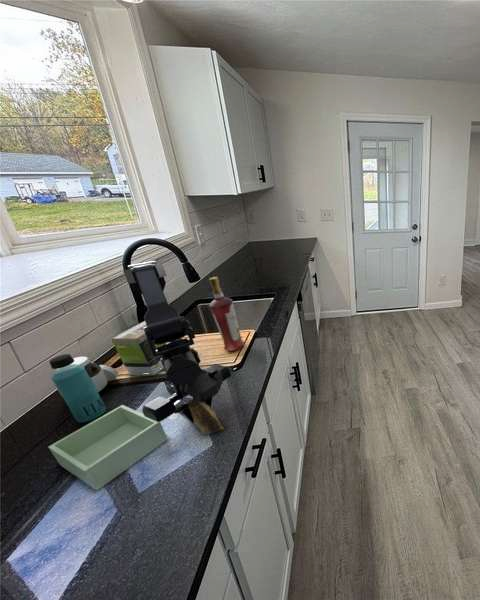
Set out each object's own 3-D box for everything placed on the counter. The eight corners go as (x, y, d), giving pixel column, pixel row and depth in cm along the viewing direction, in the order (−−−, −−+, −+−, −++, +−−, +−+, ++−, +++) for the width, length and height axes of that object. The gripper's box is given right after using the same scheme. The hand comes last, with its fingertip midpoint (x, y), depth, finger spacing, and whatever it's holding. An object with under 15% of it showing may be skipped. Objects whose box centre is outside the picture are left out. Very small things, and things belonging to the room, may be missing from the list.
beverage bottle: (90, 428, 83) (54, 365, 75) (71, 426, 85) (33, 363, 77) (115, 411, 89) (83, 351, 81) (97, 409, 90) (64, 349, 83)
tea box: (164, 351, 119) (150, 316, 113) (187, 352, 118) (174, 316, 112) (127, 375, 105) (109, 337, 100) (153, 376, 104) (136, 338, 98)
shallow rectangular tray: (131, 421, 85) (122, 404, 83) (168, 439, 78) (159, 421, 76) (60, 465, 73) (47, 446, 70) (96, 490, 66) (84, 471, 64)
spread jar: (62, 407, 92) (42, 375, 87) (78, 386, 101) (60, 356, 97) (114, 393, 97) (97, 361, 92) (123, 374, 106) (109, 345, 102)
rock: (175, 412, 82) (168, 430, 74) (195, 383, 84) (190, 397, 75) (216, 426, 87) (214, 444, 78) (234, 398, 89) (234, 413, 80)
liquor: (228, 344, 121) (207, 275, 111) (248, 342, 122) (228, 273, 111) (221, 354, 115) (197, 282, 104) (241, 352, 115) (219, 280, 104)
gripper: (159, 397, 63) (184, 454, 69) (237, 351, 79) (252, 401, 85) (129, 385, 68) (154, 440, 74) (209, 344, 83) (224, 392, 89)
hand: (200, 416), depth 80 cm, fingers closed on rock, 4 cm apart
